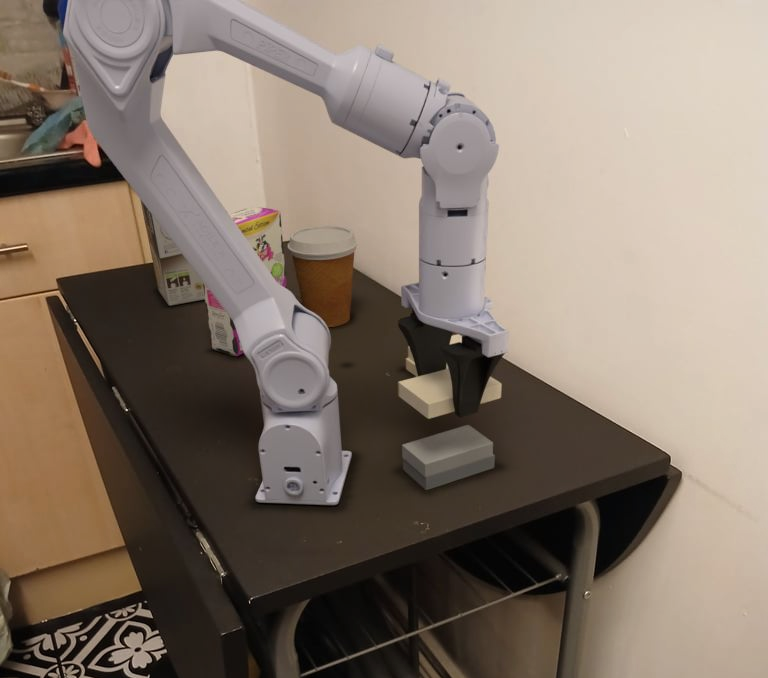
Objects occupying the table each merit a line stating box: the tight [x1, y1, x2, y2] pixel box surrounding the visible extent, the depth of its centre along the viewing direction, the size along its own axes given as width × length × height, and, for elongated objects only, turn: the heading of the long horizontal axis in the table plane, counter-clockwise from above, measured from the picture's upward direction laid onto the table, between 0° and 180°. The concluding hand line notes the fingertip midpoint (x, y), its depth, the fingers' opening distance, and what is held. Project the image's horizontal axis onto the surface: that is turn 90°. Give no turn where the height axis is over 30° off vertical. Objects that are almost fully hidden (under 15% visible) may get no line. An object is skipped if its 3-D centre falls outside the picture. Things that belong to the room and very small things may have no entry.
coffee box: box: [139, 198, 205, 307], centre depth 120 cm, size 9×6×16 cm
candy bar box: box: [202, 206, 288, 357], centre depth 104 cm, size 11×5×16 cm, turn 146°
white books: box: [404, 333, 462, 377], centre depth 98 cm, size 8×6×3 cm
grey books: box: [401, 424, 496, 491], centre depth 78 cm, size 8×4×3 cm, turn 119°
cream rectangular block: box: [397, 369, 503, 420], centre depth 74 cm, size 8×6×2 cm
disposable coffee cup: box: [287, 225, 358, 328], centre depth 110 cm, size 10×10×12 cm
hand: (449, 400), depth 75 cm, fingers closed on cream rectangular block, 5 cm apart
